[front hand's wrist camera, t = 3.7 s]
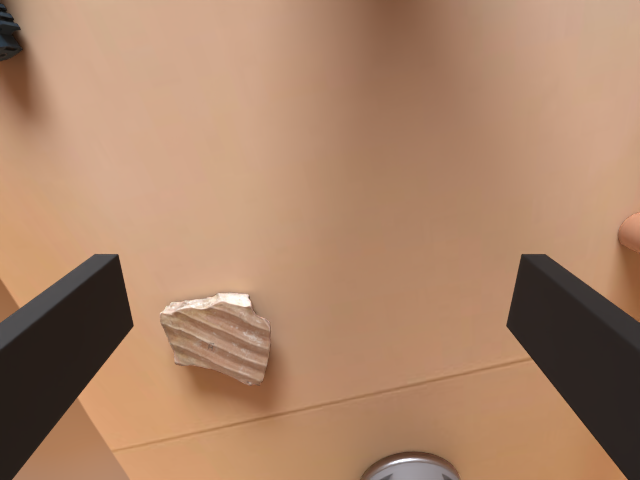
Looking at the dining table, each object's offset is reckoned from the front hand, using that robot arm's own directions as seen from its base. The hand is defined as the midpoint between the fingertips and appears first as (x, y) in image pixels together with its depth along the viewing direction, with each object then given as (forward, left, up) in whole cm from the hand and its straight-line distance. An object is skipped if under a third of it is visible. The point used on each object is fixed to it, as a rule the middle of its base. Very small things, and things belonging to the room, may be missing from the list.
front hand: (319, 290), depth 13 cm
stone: (-22, +12, -28) cm, 38 cm away
